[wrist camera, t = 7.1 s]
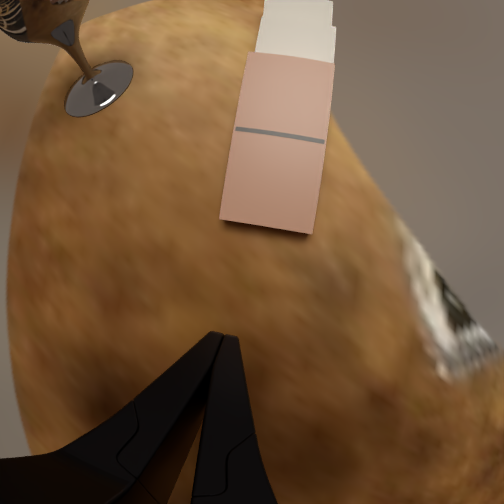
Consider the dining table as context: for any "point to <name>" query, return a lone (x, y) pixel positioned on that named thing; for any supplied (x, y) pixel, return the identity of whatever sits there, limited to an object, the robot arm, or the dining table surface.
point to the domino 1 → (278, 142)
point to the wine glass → (67, 49)
